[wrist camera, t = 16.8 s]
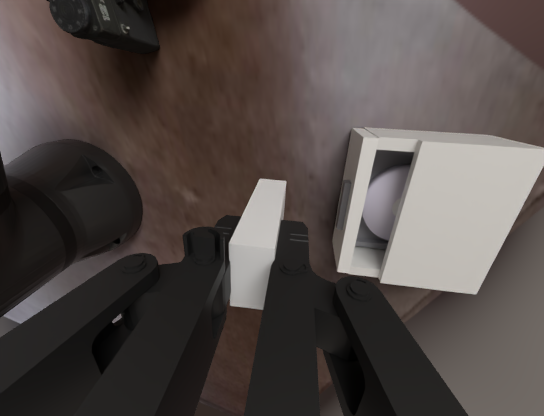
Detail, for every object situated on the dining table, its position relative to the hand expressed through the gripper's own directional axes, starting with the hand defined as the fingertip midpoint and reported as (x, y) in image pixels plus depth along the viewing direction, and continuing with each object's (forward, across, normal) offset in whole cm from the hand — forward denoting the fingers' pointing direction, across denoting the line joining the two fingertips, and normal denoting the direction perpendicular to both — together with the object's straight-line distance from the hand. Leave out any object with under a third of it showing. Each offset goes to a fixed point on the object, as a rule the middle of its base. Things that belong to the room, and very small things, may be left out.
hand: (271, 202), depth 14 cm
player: (+14, +14, -4) cm, 20 cm away
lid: (+12, +12, -4) cm, 18 cm away
